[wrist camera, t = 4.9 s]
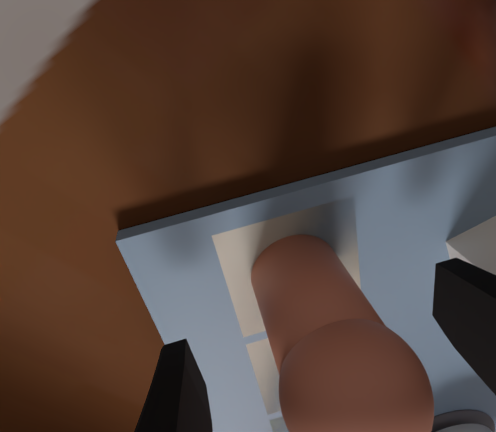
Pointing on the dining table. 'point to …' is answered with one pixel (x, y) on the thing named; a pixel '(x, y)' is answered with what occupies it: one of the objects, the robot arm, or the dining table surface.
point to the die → (476, 246)
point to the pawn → (335, 346)
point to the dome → (466, 428)
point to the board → (350, 254)
